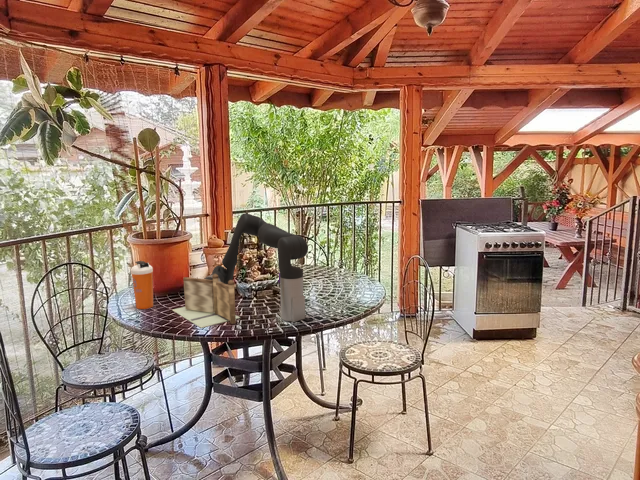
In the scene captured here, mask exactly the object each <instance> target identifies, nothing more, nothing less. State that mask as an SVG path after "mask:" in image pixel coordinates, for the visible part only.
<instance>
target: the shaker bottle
mask: <svg viewBox="0 0 640 480" xmlns="http://www.w3.org/2000/svg"><path fill="white" fill-rule="evenodd" d="M135 264H136V265H135ZM135 264H134V265H133V266H132V267H131V269H130V274H131V279H132V286H133V293H134V301H135V307H136V309H138V310H147V309H151V308H153V307H154V281H153V278H154V277H153V272H154V267H153V265H151V264H150V263H149V262H146V261H143V260H138V261H135Z"/></svg>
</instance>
